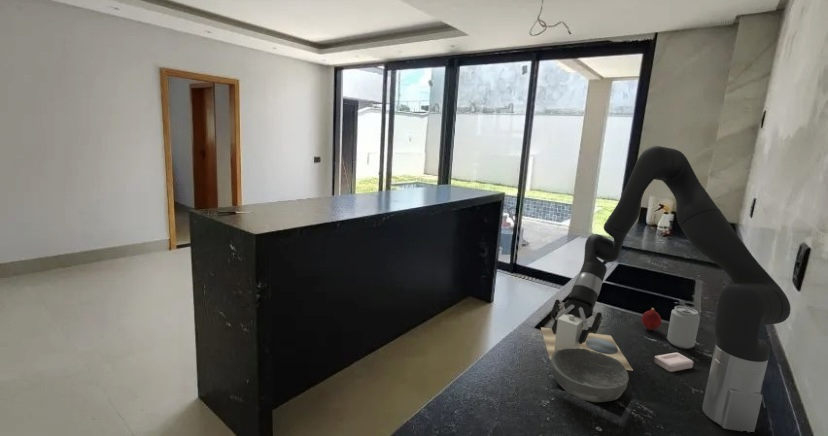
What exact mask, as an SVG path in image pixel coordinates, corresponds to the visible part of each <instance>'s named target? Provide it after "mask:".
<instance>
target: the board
mask: <svg viewBox="0 0 828 436" xmlns="http://www.w3.org/2000/svg"><path fill="white" fill-rule="evenodd" d="M540 329H541V333H542V336H543V337H542V338H543V341H544V343H545V348H546V350H547V354H548V358H549V360H550V361H551V357H552V355H553V353H554V352H555V351H556V350H554V348H555V339H556V335H555V334H553V331H552V328H551V327H550V328H549V327H541V326H540ZM580 349H587V350H590V351H594V352H597V353H601V354H604V355H606V356H610V357H612V358H614V359H616V360H618V361H619V362H621V364H622V365H623V366H624V367H625V369H626V371H632V372H633V371H634V369H633V368H632V366H631V365H630V363H629V362H628V360H627V358H626V357H625V355H624V354H623V351H621V349H620V348H619V346H618V345H617V343H616V341H615V340H614V338H613V337H612V335H610V334H600V333H596V334H593V333H589V334H588V336H587V339H586V341H585V343H582V344H581V347H580Z"/></svg>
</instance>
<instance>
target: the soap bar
mask: <svg viewBox="0 0 828 436" xmlns="http://www.w3.org/2000/svg"><path fill="white" fill-rule="evenodd" d="M653 361H654V363H655V364H656V365H658V366H660V367H661V368H662V369H665V370H666V371H668V372H670V373H671V372H676V371H677V372H678V371H682V370H687V369H692V368H693V366H694V361H693V360H692V359H690V358H688V357H687V356H685V355H683V354H681V353H679V352H672V353H671V352H670V353H665V354H658V355H655V356H654V360H653Z"/></svg>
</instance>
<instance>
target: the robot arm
mask: <svg viewBox="0 0 828 436" xmlns="http://www.w3.org/2000/svg"><path fill="white" fill-rule="evenodd" d="M654 180H657V181H662V182H663V183H664V184H665V185H666V186H667V188H668V189H669V191H670V192H671V193H672V195H673V197H674V199H675V201H676V202H675V204H676V208H675V209H676V210H675V211H676V212H675V213H676V214H675V215H676V221H677V223H678V225H679V227H680V229H681V230H682V232H683V234H684V235H685V237H686V238H687V240H688V242H689V244H691V245H692V246H693V248H695V249H696V250H698V252H700V253H701V254H702V255H704V256H705V257H706V258H707V259H709V260H711V261H712V262H713V263H715V264H716V265H717V266H718V267H720V269H722V270H723V271H724V272H725V273H726V275H727V276H728V278H730V280H731V281H732V283H730V284H728V285H726V286H725V287H724V288H723V289H722V290H721V291H720V294H719V296H718V300H717V305H716V312H715V321H714V334H715V337H716V338H715V339H716V340H715V346H714V349H713V353H712V360H711V364H710V369H709V373H708V379H707V383H706V388H705V393H704V398H703V402H702V412H703V414H704V415H705V416H707V418H709V419H710V420H711V421H713V422H714V423H717V424H718V425H719V426H721V428H722V429H725V430H730V431H737V432H743V431H747V432H746V433H750V432H754V433H755V430H756V425H757V421H758V418H759V413H760V410H761V404H762V401H763V395H762V393H761V392H762V387H763V382H764V380H765V374H766V371H767V366H768V362H769V358H770V354H771V347H770V346H769V344H768V343H767V342H765V341H764V340H763V339H760V330H761V326H765V325H766V326H767V325H776V324H780V323H783V322H785V321H786V320H787V319H788V318H789V317H790V315H791V303H790V301H789V298H788V297H787V295H786V293H785V292H784V290H783V289H782V288H781V287H780V285H779V284H778V283H777V282H776V281H775V280H774V279H773V277H771V275H770V274H769V273H768V271H766V269H764V268H763V267H762V266H761V264H760V262H758V261H757V260H756V258H755V257H754V256H753V255H752V253H751V252H750V250H749V249H748V248H747V246H746V245H745V243H744V242H743V241H742V239H741V238H740V237H739V236H738V234H737V232H736V231H735V229H733V226H732V225H731V224H730V222H729V221H728V220H727V218H726V216H725V214H723V212H722V211H721V210H720V208H719V207H718V206H717V204H716V203H715V202H714V200H713V199H712V197H711V196H710V195H709V193H708V191H707V190H705V188H704V186H703V185H702V184H701V182H700V181H699V179H698V177H697V175H696V173H695V171H694V169H693V167H692V165H691V163H690V162H689V159H688V157H686V155H685V154H684V153H682V151H681V150H678V149H675V148H672V147H671V148H670V147H666V146H661V145H652V146H649V147H647V148H645V150H643V151H642V152H641V154H640V155H639V157H638V158H637V161H636V163H635V165H634V167H633V169H632V172H631V174H630V176H629V178H628V180H627V183H626V185H625V188H624V190H623V193H622V194H621V196H620V199H619V201H618V203H617V204H616V205H615V208H614V209H613V211H611V214H610V215H609V216H608V218H607V219H606V221H605V223H604V224H603V230H604V232H605V233H607V234H608V235H609V236H610V237H611V238H613V240H612V239H609V238H607V237H605V236H603V235H601V234H598V233H592V234H591V235H590V236H588V237H587V238H586V241H585V245H584V256H583V263H582V266H581V269H580V271H579V273H578V275H577V277H576V278H575V281H574V283H573V285H572V287H571V288H572V289H571V290H570V293H569V295H568V298H567V300H565V302H563V301H561V300H559V299H558V298H557V299H555V300H554V303H553V306H552V309H551V312H550V317H551V319H552V320H553V321H554V322H553V324H552V327H551V329H552V331H553V334H555V335H556V331H557V322H558V318H560V317H561V316H562V315H563V314H569V315H574V316H575V317H578V318H581V320H583V321H582V323H583V330H582V332H581V335H580V337H579V340H578V342H579V343H580V344H582V343H585V341H586V339H587V336H588V334H589V333H593V334H598V331H599V328H600V325H601V323H602V321H603V315H602V312H596V311H594V308H595V305H596V302H597V300H598V298H599V296H600V292H601V290H602V286H603V285H602V284H603V282H604V279H605V276H606V274H607V271H608V270H607V269H608V267H607V266H606V264H605V263H604V262H607V263H612V262H615V261H616V260H617V259H619V257H620V254H621V252H622V246H623V244H624V242H625V240H626V237H627V235H628V234H629V233H630V230H631V229H632V228H633V227H634V225H635V223H636V222H637V221H638V219H639V216H640V213H641V208H642V202H643V201H642V200H643V196H644V193H645V191H646V189H647V188H648V187H649V186H650V184H652V182H653V181H654ZM601 260H602V261H604V262H602V261H601ZM563 307H564V310H562V311H561V312H560V313H559V311H560V310H561V309H562V308H563ZM591 317H592V318H593V322H592V325H591V326H589V324H588V319H590V318H591Z"/></svg>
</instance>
